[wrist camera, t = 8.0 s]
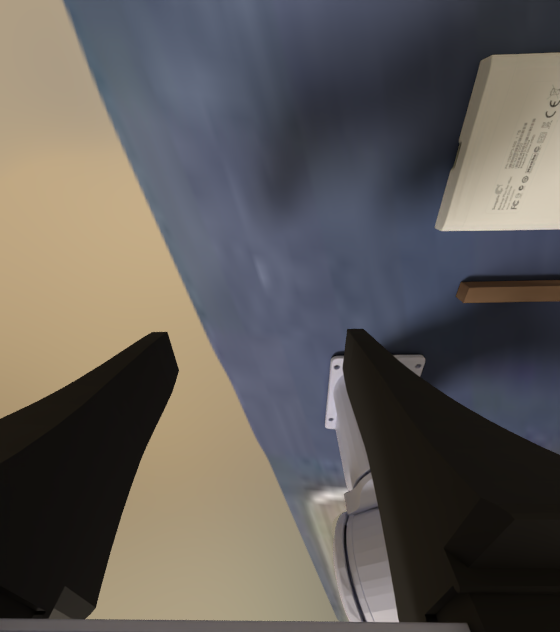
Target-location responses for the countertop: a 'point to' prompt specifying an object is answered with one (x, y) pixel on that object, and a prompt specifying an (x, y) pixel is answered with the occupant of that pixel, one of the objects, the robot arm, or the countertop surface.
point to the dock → (509, 291)
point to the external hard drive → (508, 149)
